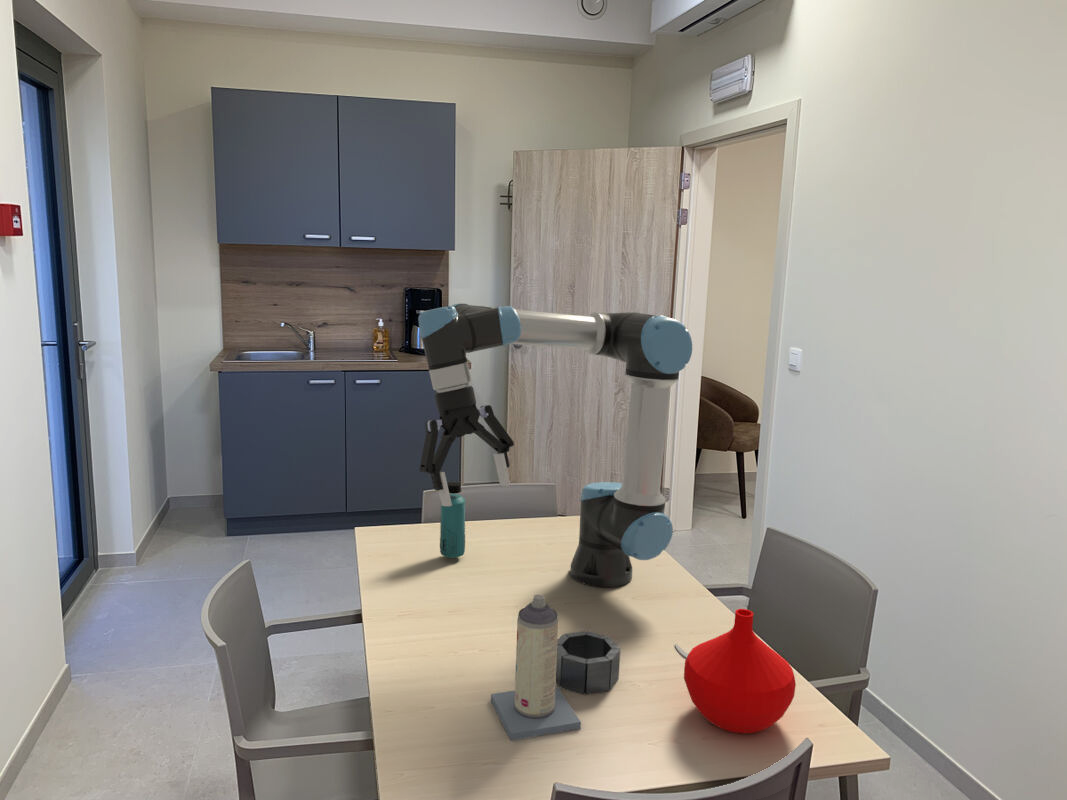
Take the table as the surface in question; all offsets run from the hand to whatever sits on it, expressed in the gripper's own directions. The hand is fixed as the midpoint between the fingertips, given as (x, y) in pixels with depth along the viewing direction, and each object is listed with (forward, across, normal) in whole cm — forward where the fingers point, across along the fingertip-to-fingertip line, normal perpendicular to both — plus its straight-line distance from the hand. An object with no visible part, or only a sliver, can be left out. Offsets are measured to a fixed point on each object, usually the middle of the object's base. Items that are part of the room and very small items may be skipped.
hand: (476, 495), depth 153 cm
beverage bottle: (+24, -15, -46) cm, 54 cm away
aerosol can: (+34, +9, +20) cm, 40 cm away
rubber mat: (+35, +10, +20) cm, 41 cm away
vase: (+43, -18, +39) cm, 61 cm away
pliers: (+42, -29, +24) cm, 56 cm away
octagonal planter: (+36, -6, +15) cm, 39 cm away
